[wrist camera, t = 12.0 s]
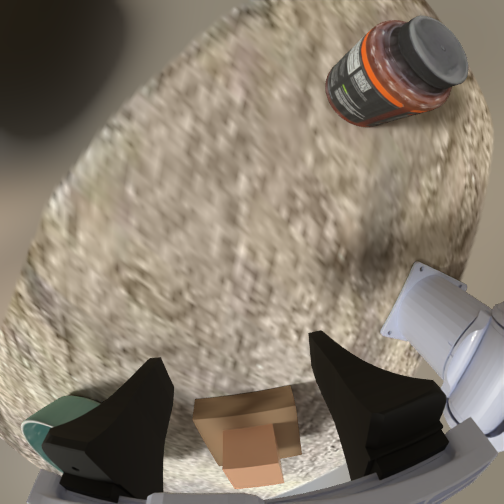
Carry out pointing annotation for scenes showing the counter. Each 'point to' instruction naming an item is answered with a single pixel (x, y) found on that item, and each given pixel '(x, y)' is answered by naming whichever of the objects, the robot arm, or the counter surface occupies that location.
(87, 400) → the bowl
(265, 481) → the terracotta cube
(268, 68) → the counter surface
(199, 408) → the walnut block
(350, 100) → the supplement bottle
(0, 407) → the counter surface
